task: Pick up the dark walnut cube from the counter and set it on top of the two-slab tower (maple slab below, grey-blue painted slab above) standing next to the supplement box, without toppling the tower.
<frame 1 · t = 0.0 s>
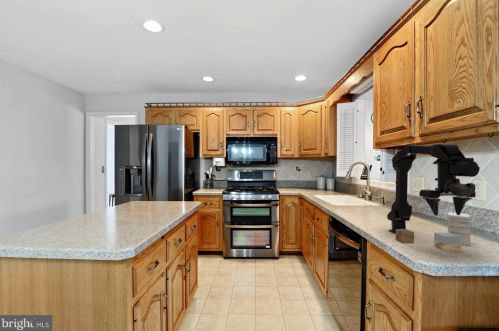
hand: (447, 215, 94), 15 cm above the countertop, tool pointing down, fingers open, 9 cm apart
supplement box: (458, 243, 106), on the countertop
walnut cube: (404, 241, 108), on the countertop
tower base: (447, 249, 99), on the countertop, touching tower mid
tower mid: (447, 241, 99), point 3 cm above the countertop, touching tower base
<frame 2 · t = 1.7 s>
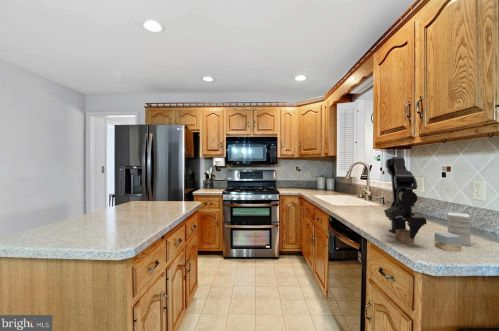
hand: (404, 235, 108), 3 cm above the countertop, tool pointing down, fingers open, 9 cm apart
nothing on the countertop moved.
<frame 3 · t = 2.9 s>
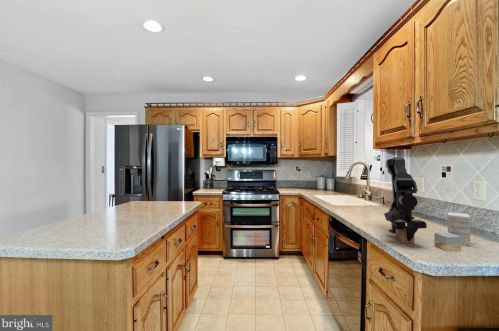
hand: (404, 239, 108), 1 cm above the countertop, tool pointing down, fingers closed on walnut cube, 5 cm apart
walnut cube: (404, 241, 108), on the countertop, touching gripper
tower base: (447, 249, 99), on the countertop
tower mid: (447, 242, 99), point 3 cm above the countertop
everything else where it was.
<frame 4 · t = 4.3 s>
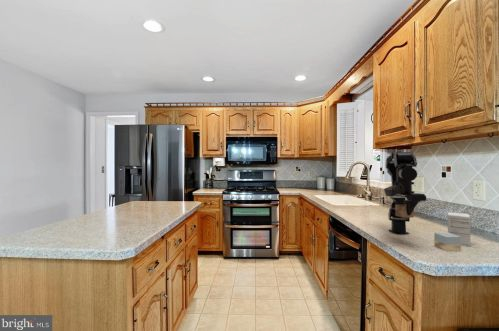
hand: (404, 214, 108), 12 cm above the countertop, tool pointing down, fingers closed on walnut cube, 5 cm apart
walnut cube: (404, 216, 108), point 11 cm above the countertop, touching gripper
tower base: (447, 249, 99), on the countertop, touching tower mid
tower mid: (447, 241, 99), point 3 cm above the countertop, touching tower base
everything else where it was.
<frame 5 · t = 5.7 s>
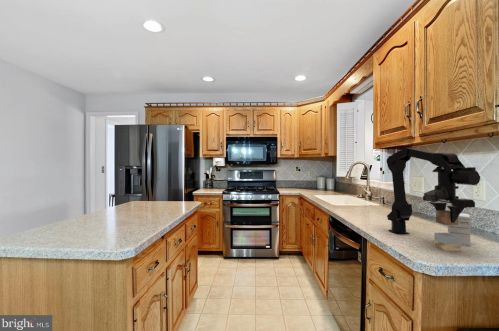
hand: (446, 221, 99), 11 cm above the countertop, tool pointing down, fingers closed on walnut cube, 5 cm apart
walnut cube: (446, 223, 99), point 10 cm above the countertop, touching gripper
everything else where it was.
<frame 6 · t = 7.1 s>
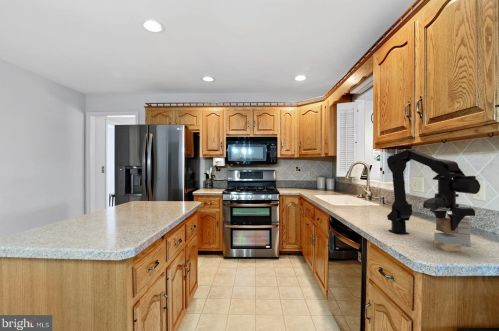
hand: (447, 228, 99), 8 cm above the countertop, tool pointing down, fingers closed on walnut cube, 5 cm apart
walnut cube: (446, 231, 99), point 7 cm above the countertop, touching gripper
everything else where it was.
when the fingers open (8 cm above the countertop, at t = 7.1 s): walnut cube drops 1 cm, resting on tower mid.
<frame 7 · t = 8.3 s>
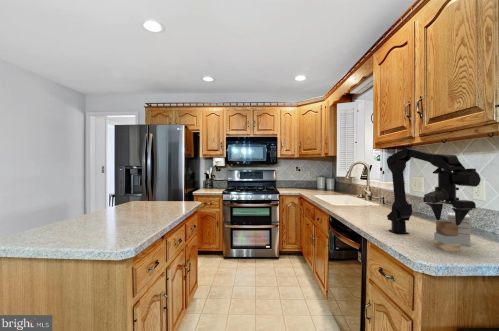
hand: (447, 222, 99), 11 cm above the countertop, tool pointing down, fingers open, 9 cm apart
walnut cube: (446, 234, 99), point 6 cm above the countertop, touching tower mid
tower mid: (447, 241, 99), point 3 cm above the countertop, touching tower base, walnut cube
everything else where it was.
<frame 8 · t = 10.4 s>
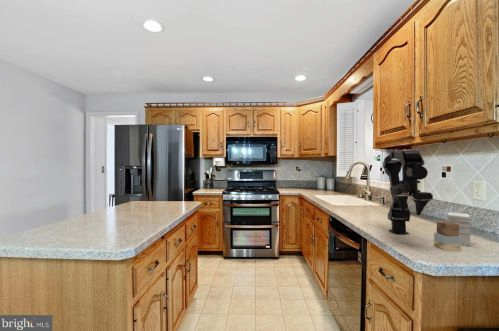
hand: (410, 213, 107), 13 cm above the countertop, tool pointing down, fingers open, 9 cm apart
nothing on the countertop moved.
at the end: walnut cube 0.3 cm off-centre on the tower mid, point 3.0 cm above the tower mid's base; tower mid tilted 0°; the gripper is holding nothing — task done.
